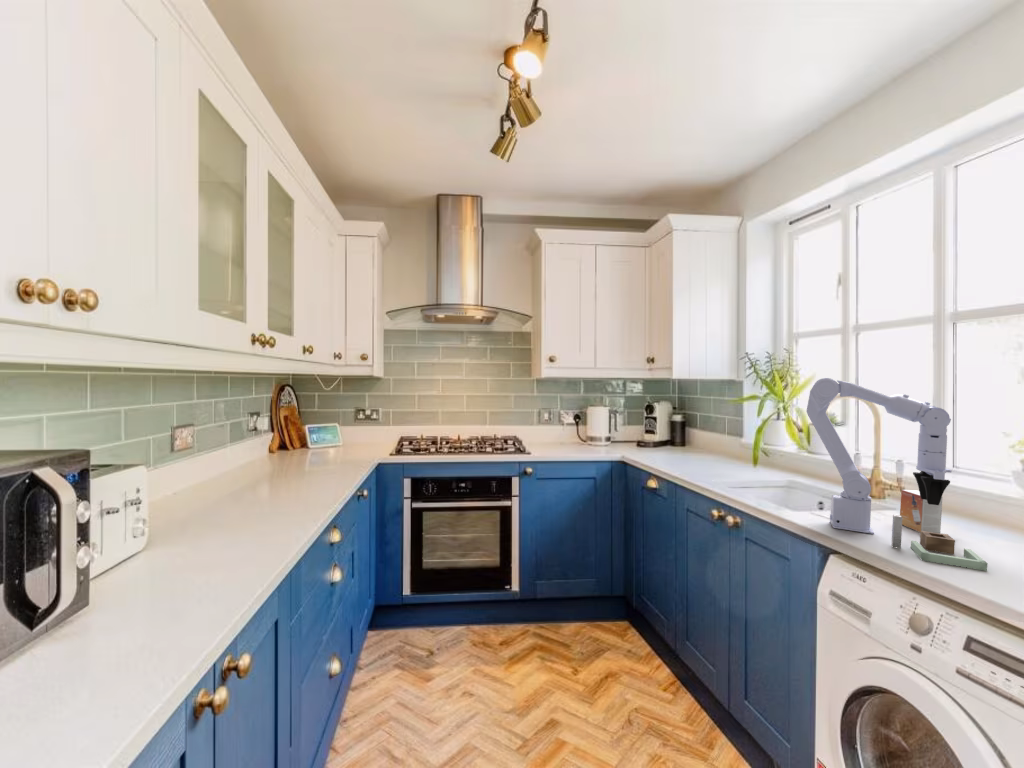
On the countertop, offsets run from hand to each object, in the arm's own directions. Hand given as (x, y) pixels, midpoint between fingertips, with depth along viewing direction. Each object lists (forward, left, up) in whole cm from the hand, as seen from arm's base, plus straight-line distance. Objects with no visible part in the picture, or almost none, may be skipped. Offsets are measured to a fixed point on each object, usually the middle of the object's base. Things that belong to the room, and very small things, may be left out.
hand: (929, 501), depth 128 cm
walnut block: (0, -8, -10) cm, 13 cm away
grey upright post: (-9, -12, -10) cm, 18 cm away
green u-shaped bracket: (0, -15, -10) cm, 18 cm away
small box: (+1, +12, -11) cm, 16 cm away
